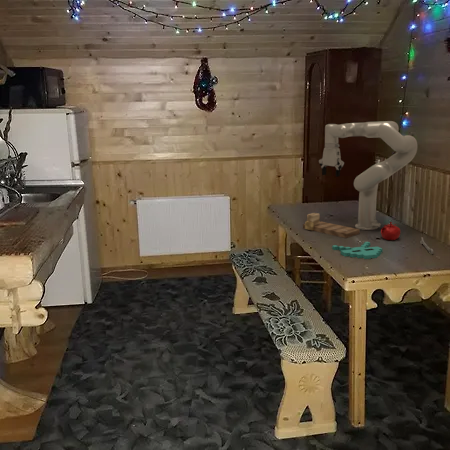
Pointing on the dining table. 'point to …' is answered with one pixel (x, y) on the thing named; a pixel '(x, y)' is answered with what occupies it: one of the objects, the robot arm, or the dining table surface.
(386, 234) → the pomegranate
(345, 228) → the walnut board
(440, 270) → the dining table surface
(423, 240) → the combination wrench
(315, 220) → the tan cardboard box
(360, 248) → the alien figure
